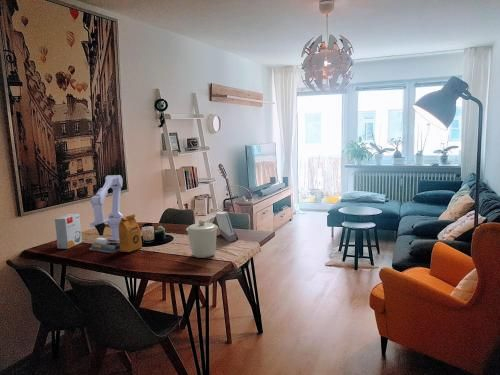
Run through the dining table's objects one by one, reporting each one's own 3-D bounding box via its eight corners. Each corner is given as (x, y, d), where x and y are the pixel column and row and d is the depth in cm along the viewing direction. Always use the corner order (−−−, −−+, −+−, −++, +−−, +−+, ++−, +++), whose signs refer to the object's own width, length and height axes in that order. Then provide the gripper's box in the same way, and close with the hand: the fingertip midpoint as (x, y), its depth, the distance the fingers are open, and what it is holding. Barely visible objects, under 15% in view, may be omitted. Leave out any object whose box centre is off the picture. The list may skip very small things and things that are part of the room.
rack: (103, 244, 255) (103, 239, 254) (126, 247, 246) (126, 242, 245) (89, 249, 244) (88, 244, 244) (112, 253, 235) (111, 247, 235)
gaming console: (240, 240, 250) (233, 211, 246) (230, 244, 248) (222, 215, 244) (230, 231, 272) (223, 205, 268) (220, 235, 270) (212, 208, 265)
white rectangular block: (100, 245, 250) (99, 237, 249) (107, 246, 247) (107, 238, 246) (96, 246, 247) (95, 238, 247) (104, 247, 244) (103, 239, 244)
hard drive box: (67, 249, 248) (64, 219, 245) (57, 248, 250) (53, 218, 246) (82, 241, 263) (79, 213, 260) (72, 241, 265) (69, 213, 261)
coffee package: (144, 248, 243) (141, 214, 239) (129, 254, 232) (125, 218, 229) (133, 246, 248) (130, 212, 245) (118, 251, 238) (114, 217, 234)
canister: (190, 262, 213) (187, 225, 210) (186, 252, 231) (183, 218, 227) (222, 257, 218) (220, 221, 215) (216, 248, 236) (214, 215, 232)
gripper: (103, 211, 252) (105, 231, 254) (85, 216, 239) (87, 237, 241) (111, 212, 249) (113, 232, 251) (93, 217, 236) (95, 238, 238)
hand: (101, 235), depth 246 cm, fingers closed
